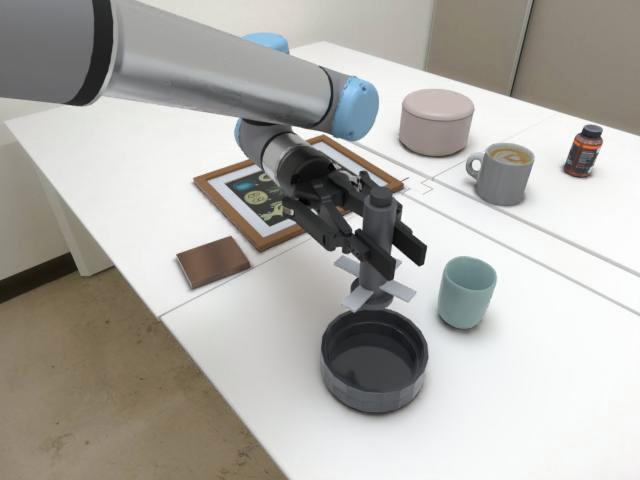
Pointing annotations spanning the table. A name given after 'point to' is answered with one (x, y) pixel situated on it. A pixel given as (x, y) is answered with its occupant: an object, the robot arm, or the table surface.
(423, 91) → the container
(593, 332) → the table surface
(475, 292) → the cup
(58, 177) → the table surface
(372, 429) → the table surface
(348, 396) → the processor bowl
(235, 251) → the board
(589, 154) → the supplement bottle
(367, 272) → the blade
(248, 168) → the wall art
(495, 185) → the coffee mug
